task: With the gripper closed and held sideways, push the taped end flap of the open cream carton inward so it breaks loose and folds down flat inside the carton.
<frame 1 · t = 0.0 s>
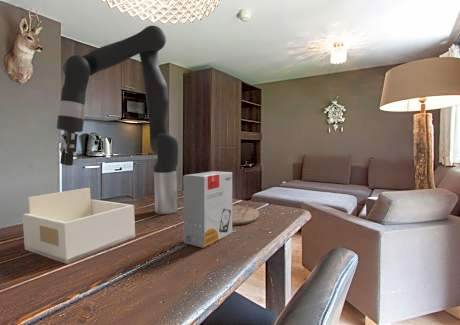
hand: (66, 164, 88), 22 cm above the table, tool pointing down, fingers open, 8 cm apart
carton: (83, 242, 77), on the table
hard drive box: (209, 238, 80), on the table
trivet: (227, 217, 104), on the table
flap: (62, 211, 81), point 8 cm above the table, hinge at 0.0°
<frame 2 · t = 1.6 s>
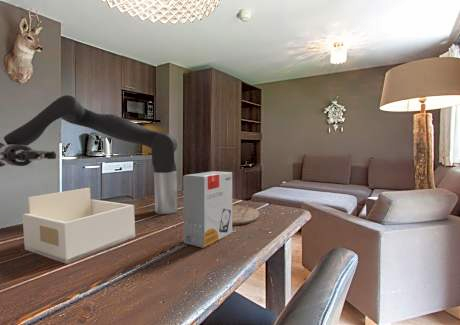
hand: (41, 156, 85), 25 cm above the table, tool horizontal, fingers open, 8 cm apart
nothing on the table moved.
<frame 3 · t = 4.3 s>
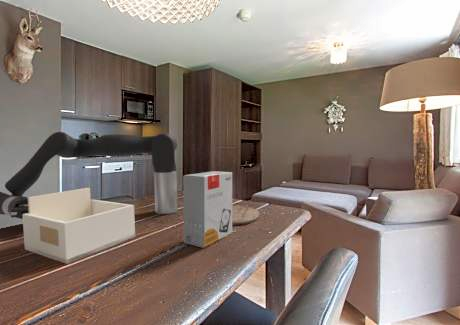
hand: (46, 212, 86), 7 cm above the table, tool horizontal, fingers closed
nothing on the table moved.
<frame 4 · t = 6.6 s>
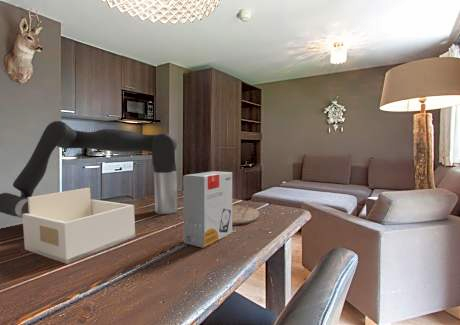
hand: (62, 215, 82), 7 cm above the table, tool horizontal, fingers closed
flap: (62, 211, 81), point 8 cm above the table, hinge at 0.0°, touching gripper
everything else where it was.
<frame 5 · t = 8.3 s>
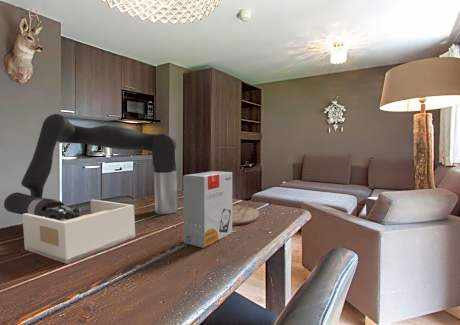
hand: (76, 217, 78), 8 cm above the table, tool horizontal, fingers closed
flap: (74, 224, 79), point 5 cm above the table, hinge at 60.9°
everything else where it was.
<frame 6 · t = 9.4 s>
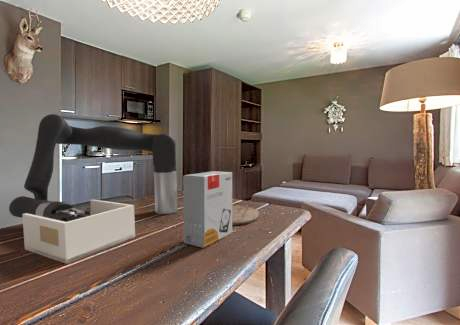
hand: (88, 219, 75), 7 cm above the table, tool horizontal, fingers closed
flap: (75, 227, 79), point 4 cm above the table, hinge at 71.1°, touching gripper
everything else where it was.
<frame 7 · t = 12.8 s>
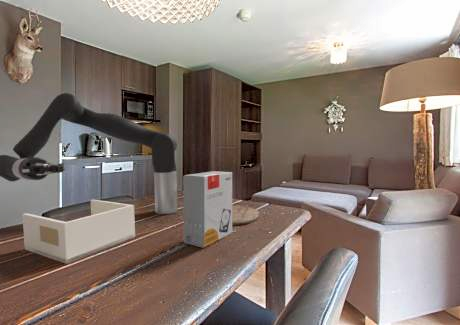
hand: (60, 168, 81), 22 cm above the table, tool horizontal, fingers closed
flap: (75, 228, 79), point 4 cm above the table, hinge at 73.1°
everything else where it was.
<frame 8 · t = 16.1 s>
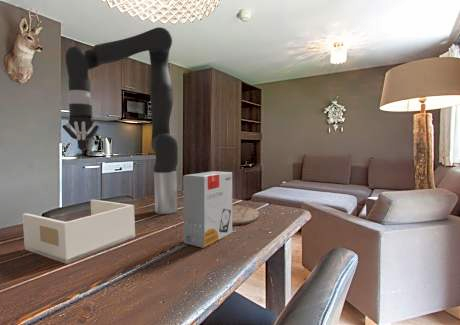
hand: (82, 150, 100), 27 cm above the table, tool pointing down, fingers closed
nothing on the table moved.
at the end: flap at +73° (first picture: +0°); flap touching nothing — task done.
